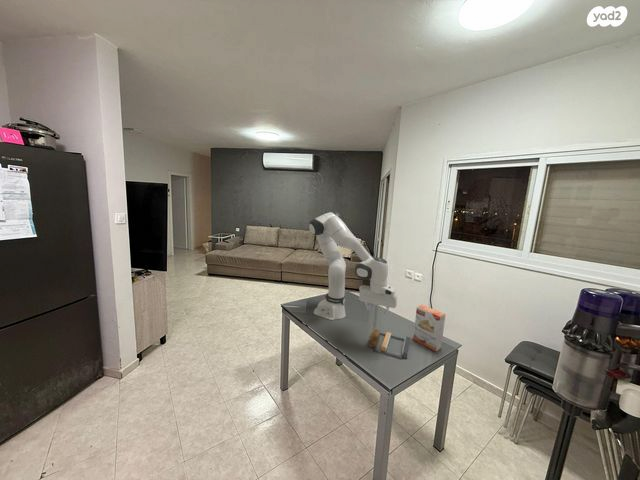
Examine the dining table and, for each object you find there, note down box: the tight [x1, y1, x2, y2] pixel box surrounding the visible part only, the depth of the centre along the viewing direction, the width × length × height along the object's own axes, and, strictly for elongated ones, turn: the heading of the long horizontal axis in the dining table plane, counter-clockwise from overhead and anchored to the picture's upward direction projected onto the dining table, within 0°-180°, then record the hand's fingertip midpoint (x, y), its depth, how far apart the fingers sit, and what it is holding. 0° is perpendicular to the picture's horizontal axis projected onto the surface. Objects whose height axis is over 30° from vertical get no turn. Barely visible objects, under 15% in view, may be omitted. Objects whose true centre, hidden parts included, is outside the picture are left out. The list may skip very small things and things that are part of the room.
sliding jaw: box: [381, 331, 392, 352], centre depth 138 cm, size 3×16×3 cm, turn 155°
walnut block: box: [368, 328, 381, 349], centre depth 138 cm, size 4×8×6 cm, turn 155°
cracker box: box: [413, 304, 446, 352], centre depth 137 cm, size 14×6×21 cm, turn 36°
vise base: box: [372, 332, 411, 360], centre depth 136 cm, size 17×19×3 cm
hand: (376, 311), depth 135 cm, fingers open, 8 cm apart
